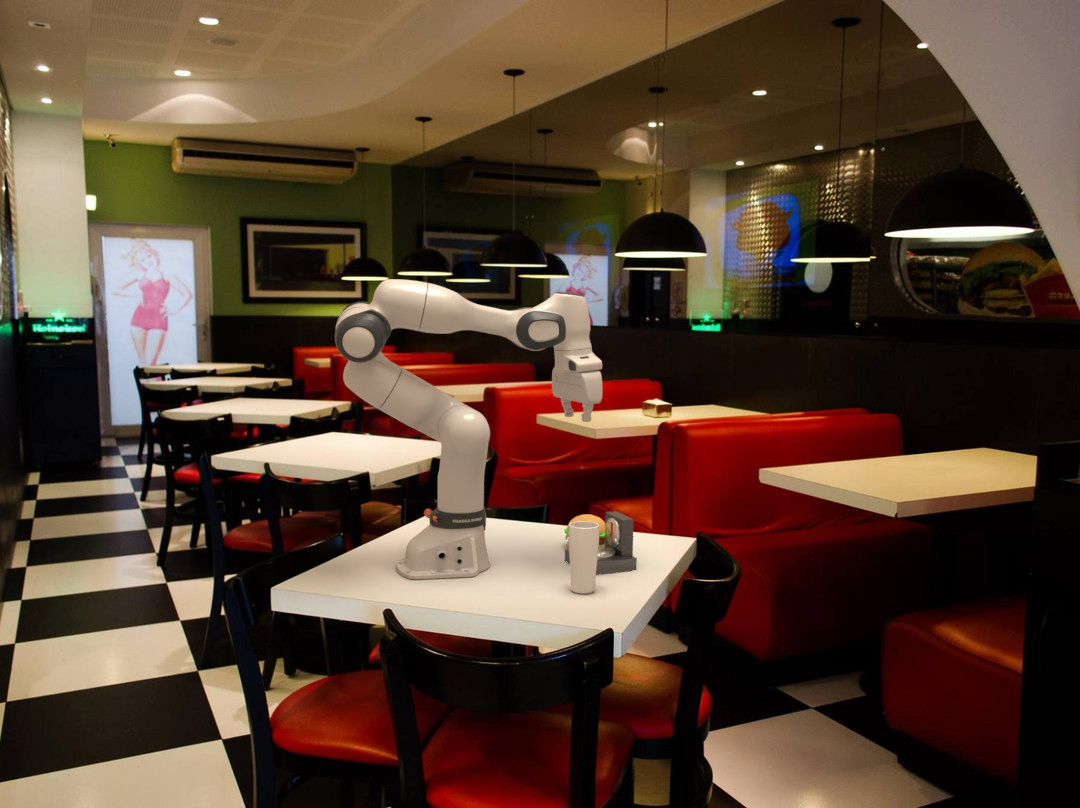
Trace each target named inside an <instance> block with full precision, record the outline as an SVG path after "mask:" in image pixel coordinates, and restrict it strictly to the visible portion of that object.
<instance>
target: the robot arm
mask: <svg viewBox="0 0 1080 808" xmlns="http://www.w3.org/2000/svg"><path fill="white" fill-rule="evenodd" d="M589 311H590V310H589V306H588V301H587V300H586V298H585V297H584V296H583V295H581V294H580V293H575V292H566V291H557V292H554V293H553V294H552V295H551V296H550V297H549V298H547V299H546V300H545V301H543V302H541V303H539V304H538V305H536V306H534V307H526V306H525V307H520V308H515V309H511V310H508V309H500V308H498V307H497V308H496V307H491V306H487V305H481V304H477V303H474V302H473V301H470V300H468V299H467V298H465V297H463V296H462V295H461V294H460V293H458V292H456V291H454V290H451V289H449V288H447V287H445V286H442V285H438V284H435V283H430V282H427V281H426V282H425V281H421V280H420V281H419V280H413V279H411V280H410V279H402V278H401V279H398V278H397V279H393V278H390V279H385V280H382V282H381V283H379V285H378V286H377V287H376V289H375V291H374V294H373V298H372V301H371V302H368V301H356V302H352V303H350V304H348V305H347V306H345V308H344V309H342V311H341V313H340V315H339V316H338V318H337V321H336V324H335V332H334V342H335V343H334V344H335V346H336V349H337V350H338V352H339V353H340V355H341V356H343V358H345V359H346V360H348V361H347V362H346V365H345V366H344V370H343V374H342V376H343V379H342V380H343V383H344V385H345V387H346V388H348V389H349V391H351V392H352V393H354V394H355V395H356V396H358V397H359V398H360V399H362V400H363V401H364V402H366V403H367V404H369V405H370V406H372V407H374V408H376V409H377V410H379V411H380V412H383V413H384V414H386V415H388V416H390V417H391V418H394V419H396V420H397V421H398V422H401V423H403V424H404V425H406V426H408V427H409V428H412V429H414V430H416V431H418V432H420V433H422V434H424V435H426V436H427V437H429V438H431V439H434V440H435V441H437V442H439V443H440V445H441V447H440V448H441V449H440V460H439V466H438V467H439V470H438V474H437V508H435V509H433V510H432V509H431V508H426V509H425V510H424V511H423V515H424V517H426V518H427V519H429V524H428V525H427V526H426V527H425V528H423V529H422V530H421V531H420V532H418V534H416V535H415V536H414V537H412V538H411V539H410V540H409V541H408V543H407V545H406V550H405V554H404V559H403V558H402V559H399V560H397V561H396V563H395V570H396V572H397V573H398V574H399V576H401V577H403V578H406V579H409V580H429V579H431V580H432V579H447V578H448V579H451V578H473V577H476V576H478V575H479V573H481V572H483V571H485V570H488V569H490V567H491V561H490V559H489V554H488V549H487V545H486V535H485V531H486V526H487V514H486V508H485V505H484V504H485V495H484V494H485V484H484V483H485V471H486V464H487V460H488V459H487V458H488V449H489V443H490V437H491V429H490V425H489V423H488V421H487V418H486V417H485V416H484V415H483V414H482V413H481V412H480V411H478V410H476V409H474V408H473V407H470V406H469V405H467V404H465V403H464V402H462V401H460V400H458V399H457V398H454V397H453V396H451V395H450V394H448V393H446V392H444V391H443V390H441V389H439V388H437V387H436V386H434V385H433V384H431V383H429V382H427V381H426V380H424V379H423V378H421V377H418V376H417V375H415V374H414V373H412V372H410V371H409V370H406V368H403V367H402V366H400V365H398V364H396V363H395V362H393V361H391V360H390V359H389V358H387V357H386V356H385V355H384V353H383V352H382V351H383V349H384V347H385V344H386V343H387V341H388V339H389V337H390V335H391V334H392V330H394V329H406V330H412V331H415V332H416V331H417V332H420V333H429V334H438V335H439V334H441V335H442V334H452V333H456V332H460V331H474V332H478V333H479V332H480V333H485V334H490V335H494V336H495V335H496V336H499V337H503V338H505V339H507V340H508V341H510V342H511V343H513V345H515V346H517V347H519V348H522V349H527V350H529V351H533V352H535V351H536V352H537V351H538V352H539V351H542V350H545V349H548V348H551V347H553V350H554V351H553V352H554V353H553V355H554V367H553V369H552V371H551V372H552V373H551V393H552V394H553V396H554V397H555V398H559V399H560V403H561V405H562V408H563V410H564V416H565V418H571V417H574V415H575V414H574V409H573V407H572V403H571V402H575V403H576V402H577V403H580V404H582V405H581V406H582V408H583V411H582V413H581V421H582V422H585V423H589V422H591V421H592V412H593V409H594V405H595V404H600V403H601V402H602V399H603V378H602V377H603V376H602V373H601V370H602V369H603V361H602V360H601V359H600V358H599V357H598V356H597V355H595V353H594V352H593V349H592V343H591V339H590V334H591V333H590V332H591V321H590V320H591V319H590V312H589Z"/></svg>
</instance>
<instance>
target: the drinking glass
mask: <svg viewBox="0 0 1080 808" xmlns="http://www.w3.org/2000/svg"><path fill="white" fill-rule="evenodd" d="M568 524H569V523H568ZM567 540H568V541H567V545H568V544H569V546H568V549H569V559H570V564H569V571H570V572H569V573H570V590H571V591H572V592H573V593H576V594H578V593H579V595H588V594H592V593H594V591H595V590H596V579H597V578H596V576H597V575H596V568H597V559H598V549H599V524H597V523H595V522H590V521H576V522H571V523H570V524H569V533H568V537H567Z"/></svg>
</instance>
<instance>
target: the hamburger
mask: <svg viewBox="0 0 1080 808" xmlns="http://www.w3.org/2000/svg"><path fill="white" fill-rule="evenodd" d="M576 521H590V522H595V523H597V524H599V545H605V520H603V519H602V518H601V517H599V516H596V515H594V514H589V513H588V514H587V513H586V514H580V515H577V516H575V517H574V518H572V519H571V520H569V523H568V524H567V526H566V528H565V529H564V530H563V531H564V534H566V535H565V541H567V540H568V533H569V524H570V523H571V522H576ZM567 545H568V547H569V544H568V543H567Z"/></svg>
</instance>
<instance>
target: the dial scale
mask: <svg viewBox="0 0 1080 808" xmlns="http://www.w3.org/2000/svg"><path fill="white" fill-rule="evenodd" d="M604 519H605V520H604V522H605V545H599V549H598V559H597V568H596V576H600V575H599V574H601V575H607V574H608V573H609V574H617V573H616V572H618V573H625V571H627V572H633V571H632V570H636V571H637V557H635V556H634V554H633V553H634V552H633V551H634V548H633V547H634V519H633V518H632V517H629V516H627V515H625V514H623V513H621V512H619V511H614V510H613V511H605V517H604ZM566 561H567V562H568V563H567V562H566ZM564 562H566V563H567V564H569V563H570V559H569V548H565V549H564Z"/></svg>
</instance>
